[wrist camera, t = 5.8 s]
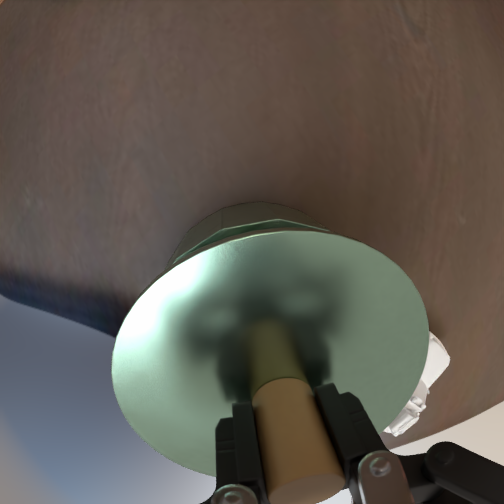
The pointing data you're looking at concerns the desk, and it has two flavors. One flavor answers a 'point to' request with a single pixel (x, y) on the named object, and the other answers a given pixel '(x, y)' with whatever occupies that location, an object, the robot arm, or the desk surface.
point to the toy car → (421, 387)
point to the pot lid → (270, 350)
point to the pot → (241, 225)
